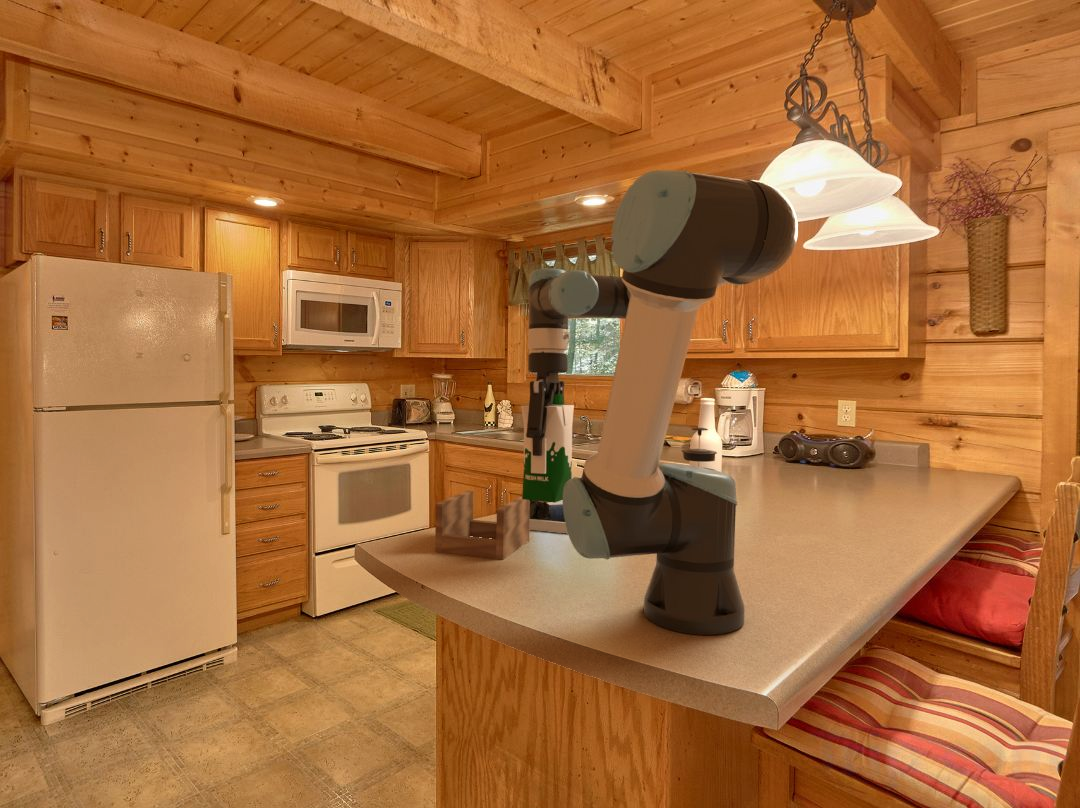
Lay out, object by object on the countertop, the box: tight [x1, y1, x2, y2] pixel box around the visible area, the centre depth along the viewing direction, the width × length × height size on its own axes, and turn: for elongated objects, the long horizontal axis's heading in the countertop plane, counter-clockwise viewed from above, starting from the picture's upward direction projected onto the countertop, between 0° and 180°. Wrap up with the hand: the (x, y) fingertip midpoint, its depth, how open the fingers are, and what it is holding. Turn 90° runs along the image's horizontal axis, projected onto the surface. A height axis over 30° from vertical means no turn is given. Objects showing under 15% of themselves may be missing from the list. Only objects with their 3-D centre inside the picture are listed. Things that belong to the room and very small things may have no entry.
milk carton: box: [520, 394, 575, 504], centre depth 126 cm, size 9×9×20 cm
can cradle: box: [529, 515, 568, 535], centre depth 160 cm, size 15×12×2 cm
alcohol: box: [689, 397, 723, 472], centre depth 185 cm, size 9×9×30 cm
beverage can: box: [530, 500, 565, 522], centre depth 160 cm, size 9×8×12 cm
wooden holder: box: [434, 490, 530, 561], centre depth 139 cm, size 15×15×10 cm
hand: (546, 469), depth 126 cm, fingers closed on milk carton, 9 cm apart
